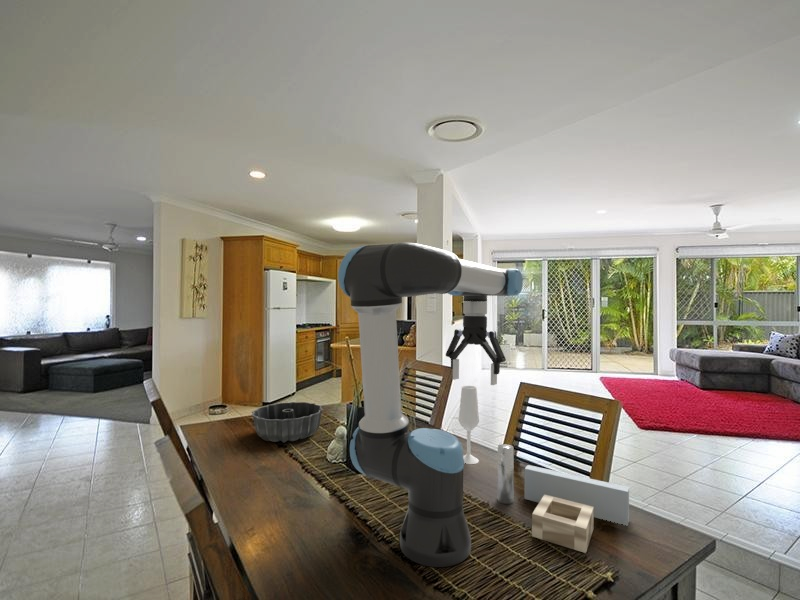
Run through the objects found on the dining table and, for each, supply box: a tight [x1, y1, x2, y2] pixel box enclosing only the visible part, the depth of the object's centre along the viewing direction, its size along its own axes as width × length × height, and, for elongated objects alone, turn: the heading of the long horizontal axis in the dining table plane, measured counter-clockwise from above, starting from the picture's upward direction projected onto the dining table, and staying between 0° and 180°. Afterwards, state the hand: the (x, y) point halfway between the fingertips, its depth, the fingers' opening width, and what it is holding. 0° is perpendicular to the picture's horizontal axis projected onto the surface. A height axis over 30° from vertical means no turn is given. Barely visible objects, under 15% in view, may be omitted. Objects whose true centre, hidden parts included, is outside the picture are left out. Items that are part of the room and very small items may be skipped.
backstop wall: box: [524, 464, 630, 527], centre depth 104 cm, size 3×24×8 cm, turn 57°
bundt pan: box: [251, 401, 324, 444], centre depth 159 cm, size 26×26×10 cm
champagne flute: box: [458, 385, 480, 465], centre depth 135 cm, size 7×7×24 cm
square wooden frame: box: [531, 494, 595, 554], centre depth 93 cm, size 11×11×5 cm
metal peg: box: [497, 443, 515, 505], centre depth 108 cm, size 4×4×14 cm
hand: (474, 381), depth 131 cm, fingers open, 13 cm apart
